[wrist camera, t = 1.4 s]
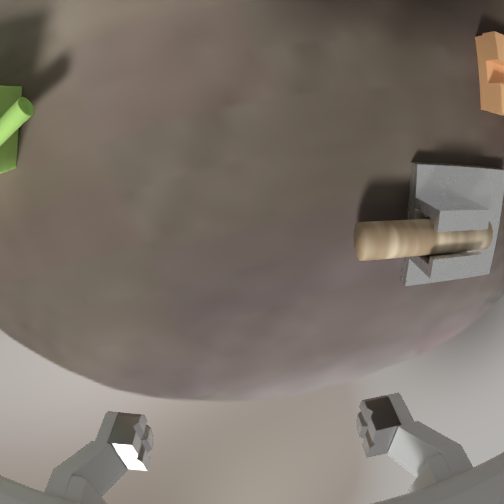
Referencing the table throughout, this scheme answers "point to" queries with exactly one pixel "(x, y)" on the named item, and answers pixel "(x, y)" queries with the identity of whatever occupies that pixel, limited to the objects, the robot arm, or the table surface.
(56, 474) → the robot arm
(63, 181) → the table surface
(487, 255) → the block
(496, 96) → the orange grooved block
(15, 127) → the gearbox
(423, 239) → the axle
